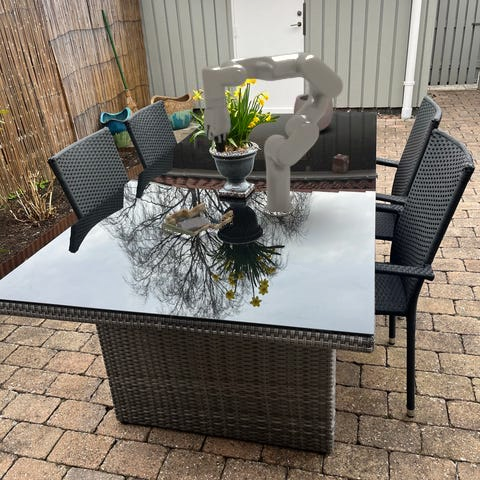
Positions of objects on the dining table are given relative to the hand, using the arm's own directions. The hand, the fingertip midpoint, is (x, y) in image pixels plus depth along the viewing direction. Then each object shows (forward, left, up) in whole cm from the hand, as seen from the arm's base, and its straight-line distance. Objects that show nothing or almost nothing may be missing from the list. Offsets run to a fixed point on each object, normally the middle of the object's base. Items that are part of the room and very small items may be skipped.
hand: (221, 151), depth 180 cm
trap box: (+9, -7, -29) cm, 31 cm away
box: (-73, +14, -29) cm, 80 cm away
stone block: (+13, -6, -29) cm, 33 cm away
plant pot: (-127, -32, -29) cm, 134 cm away
